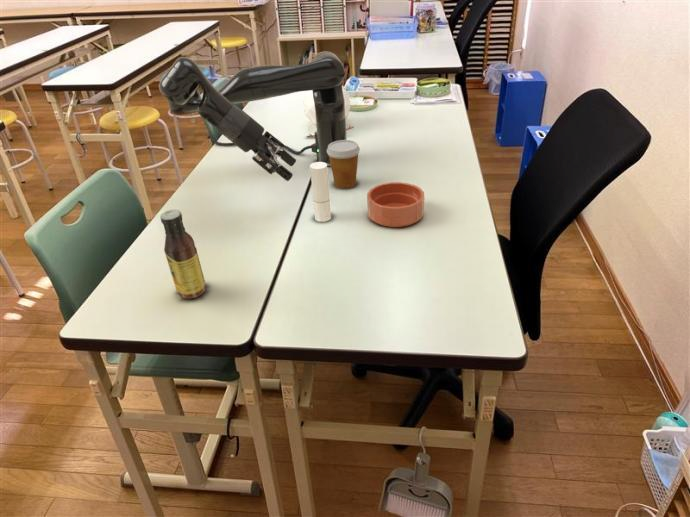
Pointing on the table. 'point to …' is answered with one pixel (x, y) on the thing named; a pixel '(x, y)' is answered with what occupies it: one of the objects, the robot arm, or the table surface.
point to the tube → (320, 191)
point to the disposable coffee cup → (344, 162)
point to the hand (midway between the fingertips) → (292, 170)
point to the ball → (310, 107)
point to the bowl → (395, 204)
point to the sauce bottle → (182, 256)
